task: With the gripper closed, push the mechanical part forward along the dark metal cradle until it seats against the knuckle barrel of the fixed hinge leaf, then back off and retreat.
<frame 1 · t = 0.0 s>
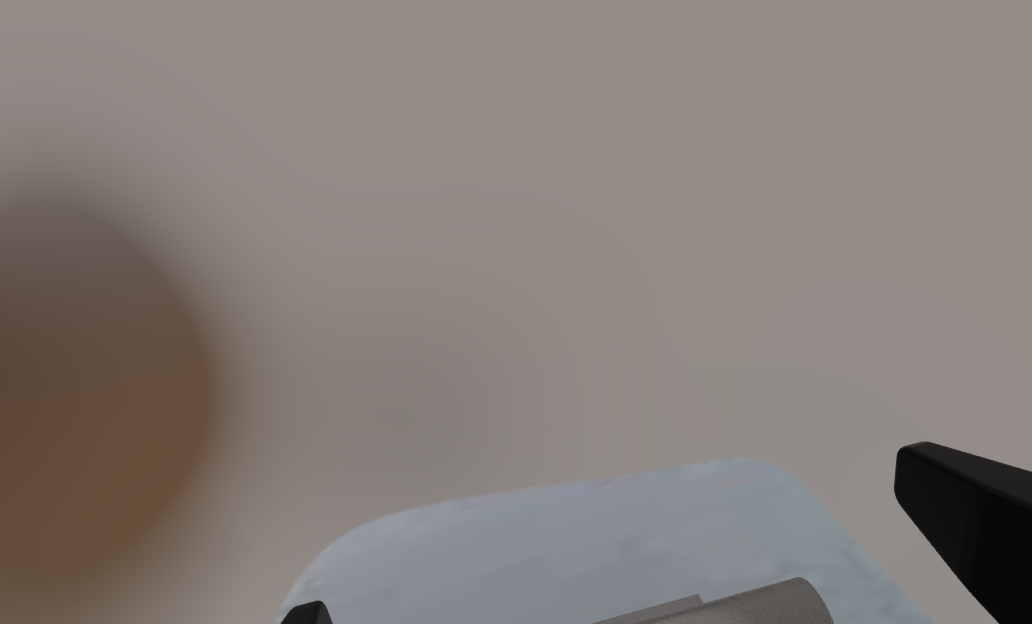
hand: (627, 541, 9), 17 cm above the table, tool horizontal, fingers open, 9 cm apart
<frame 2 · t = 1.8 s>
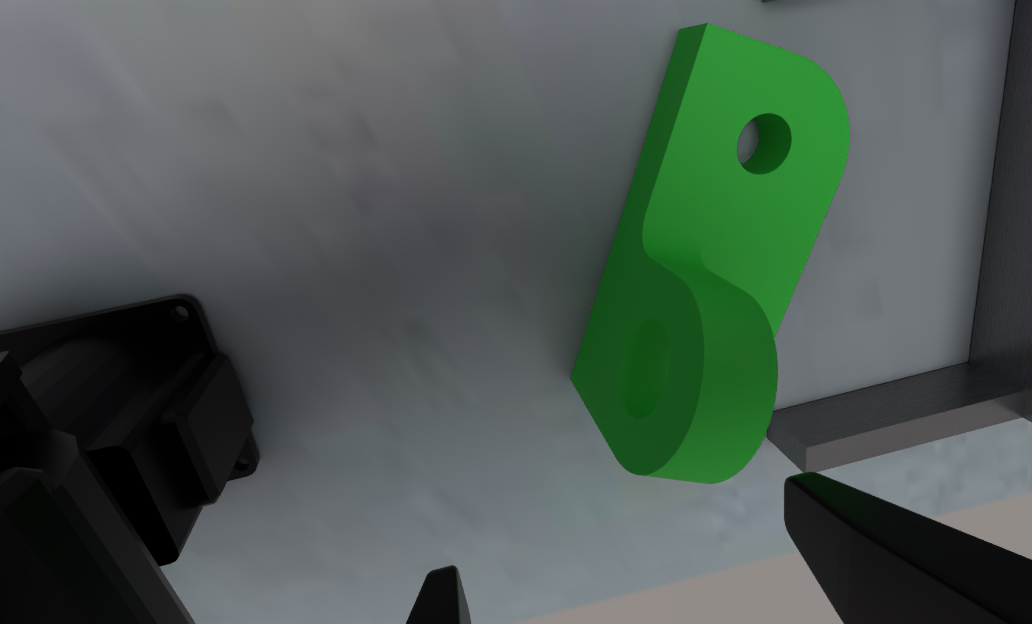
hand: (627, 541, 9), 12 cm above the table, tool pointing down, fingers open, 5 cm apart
mechanical part: (693, 235, 21), on the table
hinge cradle: (906, 203, 22), on the table
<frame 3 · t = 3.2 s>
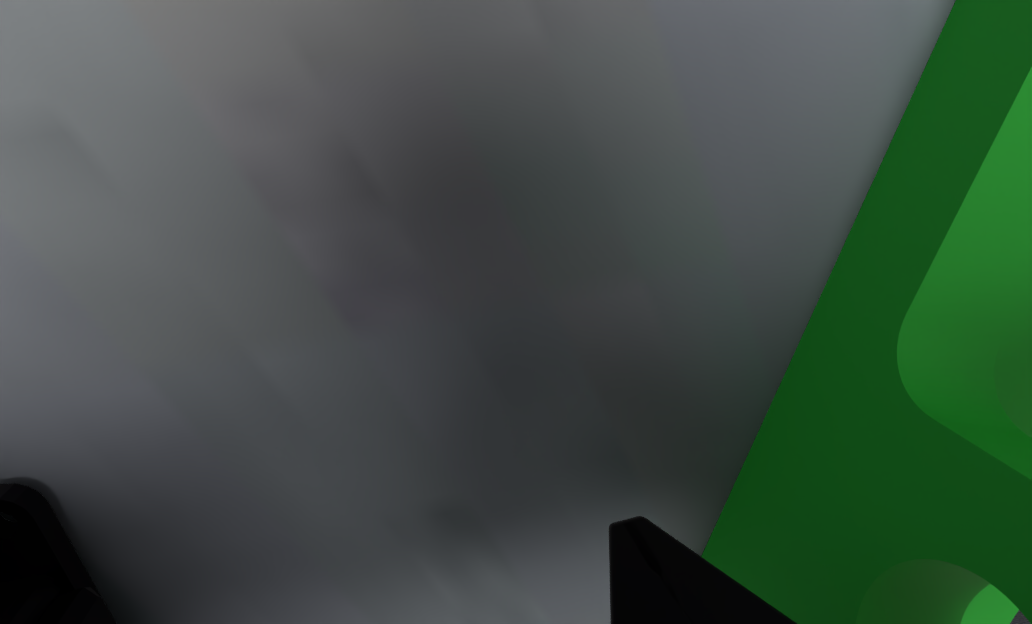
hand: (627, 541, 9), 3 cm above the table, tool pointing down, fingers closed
mechanical part: (923, 338, 12), on the table, touching gripper
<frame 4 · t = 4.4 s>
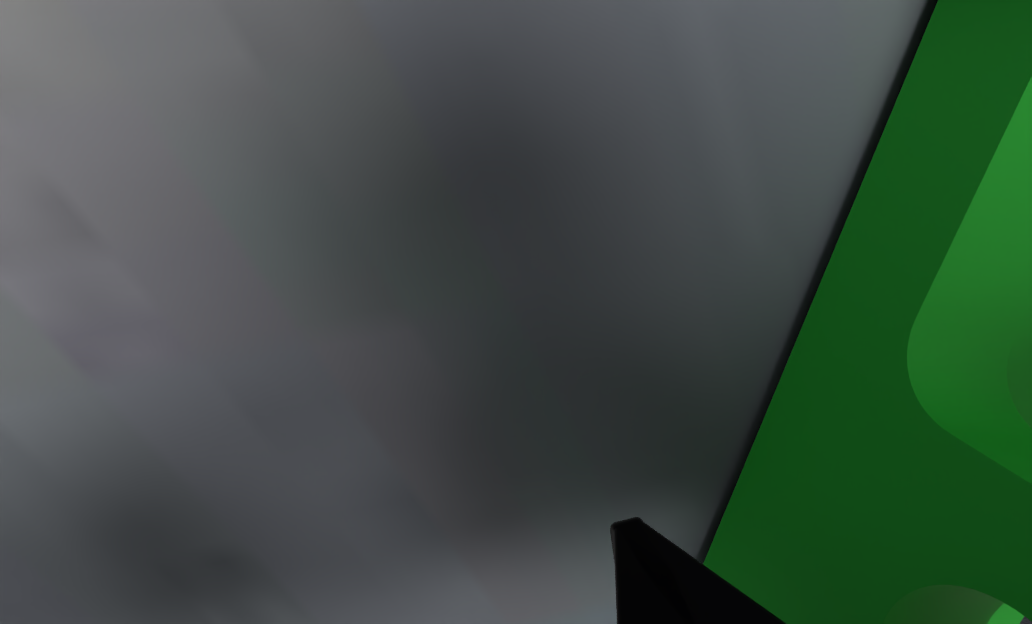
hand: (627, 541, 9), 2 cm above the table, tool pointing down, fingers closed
mechanical part: (926, 332, 12), on the table, touching gripper
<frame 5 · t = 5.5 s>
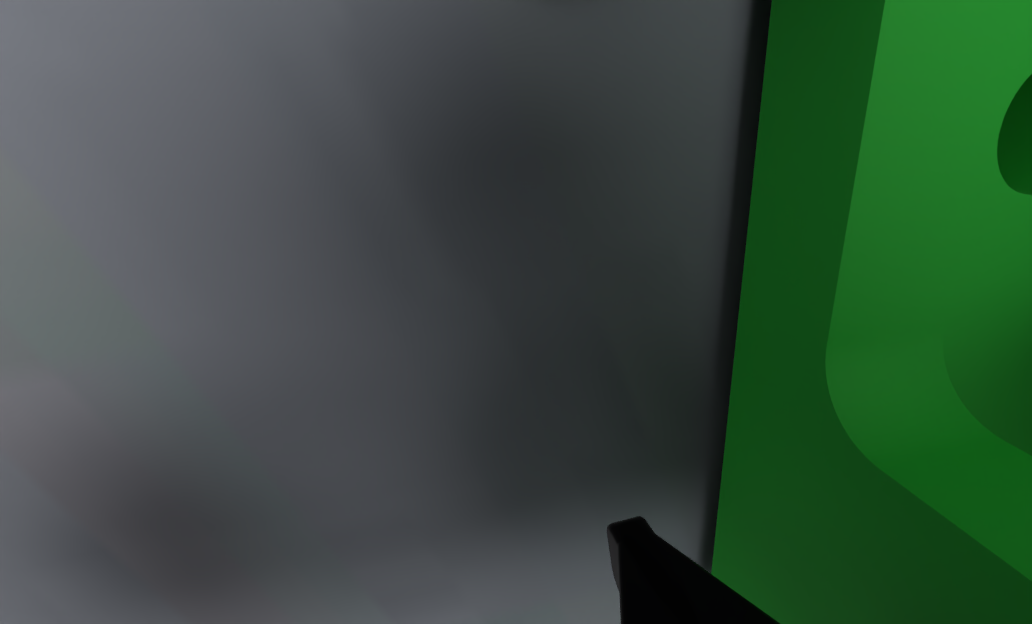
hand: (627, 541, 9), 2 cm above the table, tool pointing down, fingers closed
mechanical part: (873, 308, 11), on the table, touching gripper, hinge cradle
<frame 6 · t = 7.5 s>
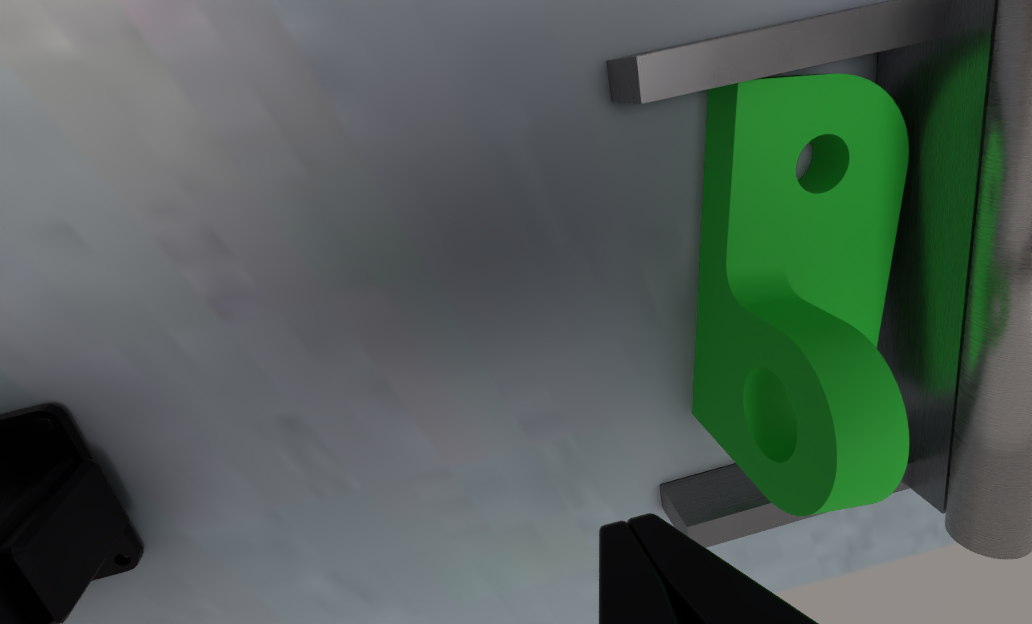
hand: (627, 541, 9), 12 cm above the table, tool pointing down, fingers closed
mechanical part: (772, 252, 22), on the table
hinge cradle: (782, 282, 22), on the table
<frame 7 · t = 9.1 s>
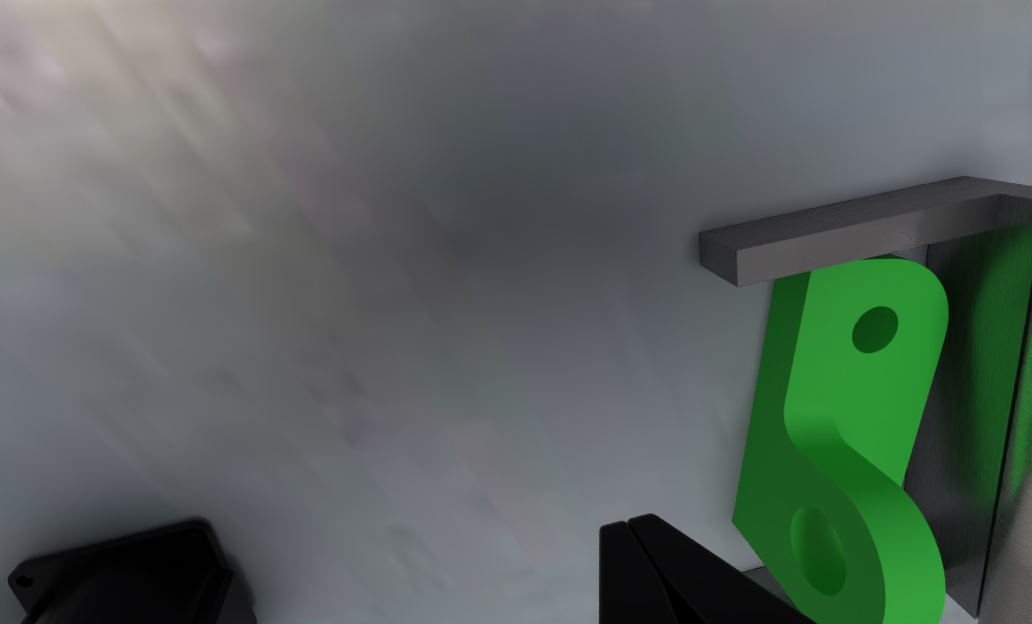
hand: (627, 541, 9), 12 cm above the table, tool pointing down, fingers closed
mechanical part: (816, 387, 24), on the table
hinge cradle: (836, 409, 24), on the table
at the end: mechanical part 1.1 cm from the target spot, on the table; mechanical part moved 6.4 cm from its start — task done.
